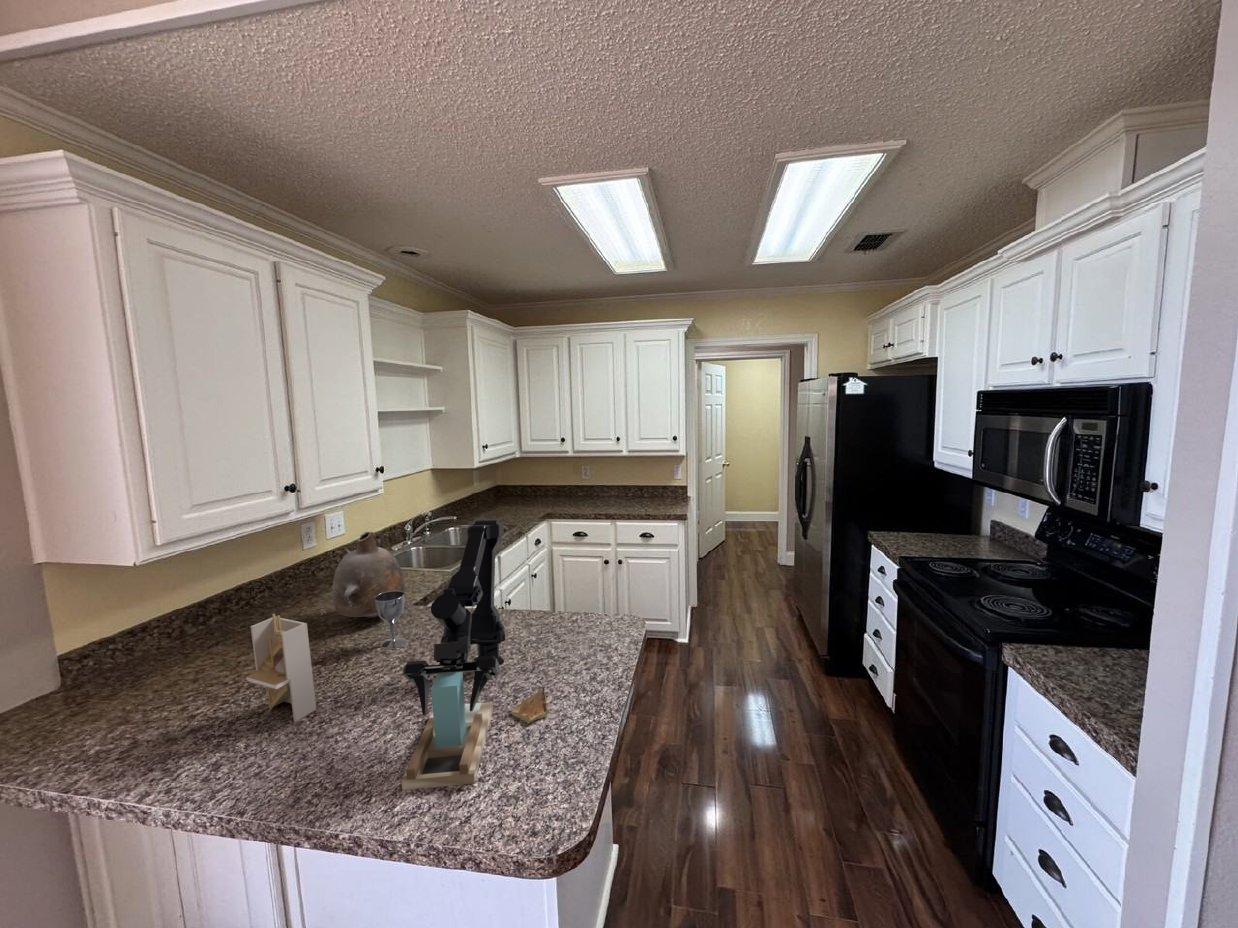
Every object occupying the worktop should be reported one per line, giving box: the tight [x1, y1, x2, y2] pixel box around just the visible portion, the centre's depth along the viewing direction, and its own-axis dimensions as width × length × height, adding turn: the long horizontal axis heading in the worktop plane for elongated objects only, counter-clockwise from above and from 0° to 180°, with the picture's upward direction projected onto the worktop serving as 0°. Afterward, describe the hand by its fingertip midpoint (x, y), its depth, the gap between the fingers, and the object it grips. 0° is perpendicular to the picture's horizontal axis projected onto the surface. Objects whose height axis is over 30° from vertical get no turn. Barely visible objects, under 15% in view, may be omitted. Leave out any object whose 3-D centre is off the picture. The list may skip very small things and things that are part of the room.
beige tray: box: [401, 701, 494, 791], centre depth 101 cm, size 22×13×4 cm, turn 6°
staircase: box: [246, 613, 317, 723], centre depth 112 cm, size 8×12×26 cm
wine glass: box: [375, 590, 407, 650], centre depth 145 cm, size 8×8×15 cm
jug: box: [332, 530, 406, 619], centre depth 162 cm, size 24×21×30 cm
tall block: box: [430, 672, 466, 748], centre depth 100 cm, size 5×5×13 cm
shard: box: [511, 687, 549, 724], centre depth 113 cm, size 11×8×2 cm
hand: (447, 712), depth 98 cm, fingers open, 9 cm apart
